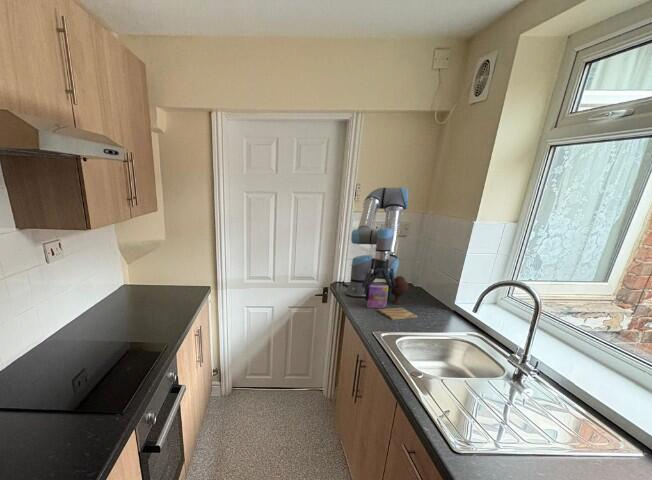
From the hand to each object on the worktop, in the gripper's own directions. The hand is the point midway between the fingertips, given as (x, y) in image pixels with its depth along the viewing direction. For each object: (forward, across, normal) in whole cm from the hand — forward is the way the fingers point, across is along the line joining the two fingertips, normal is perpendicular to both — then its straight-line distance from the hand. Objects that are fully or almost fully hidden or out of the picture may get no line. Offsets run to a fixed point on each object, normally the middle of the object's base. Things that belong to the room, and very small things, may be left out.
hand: (377, 299), depth 230 cm
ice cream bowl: (+4, +15, +5) cm, 16 cm away
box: (+4, 0, 0) cm, 4 cm away
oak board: (+4, +4, -16) cm, 17 cm away
